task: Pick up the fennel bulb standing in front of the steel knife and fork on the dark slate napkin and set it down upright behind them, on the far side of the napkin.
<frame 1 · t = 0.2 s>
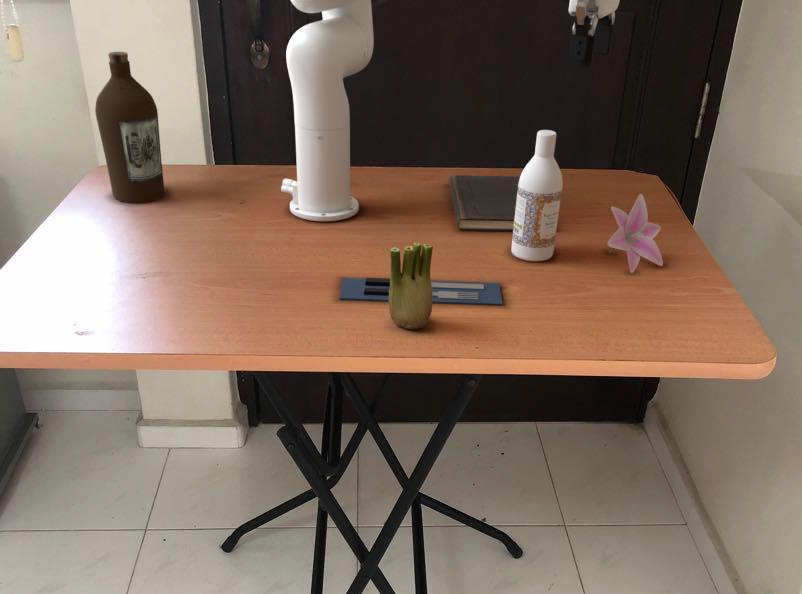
hand: (589, 59, 119), 31 cm above the table, tool pointing down, fingers open, 9 cm apart
lily: (628, 263, 136), on the table
bath foam: (531, 255, 138), on the table
hardcover book: (495, 209, 155), on the table
cutlery: (421, 292, 125), resting on napkin
olive oil: (139, 195, 156), on the table
napkin: (421, 292, 125), on the table
fennel bulb: (410, 325, 117), on the table
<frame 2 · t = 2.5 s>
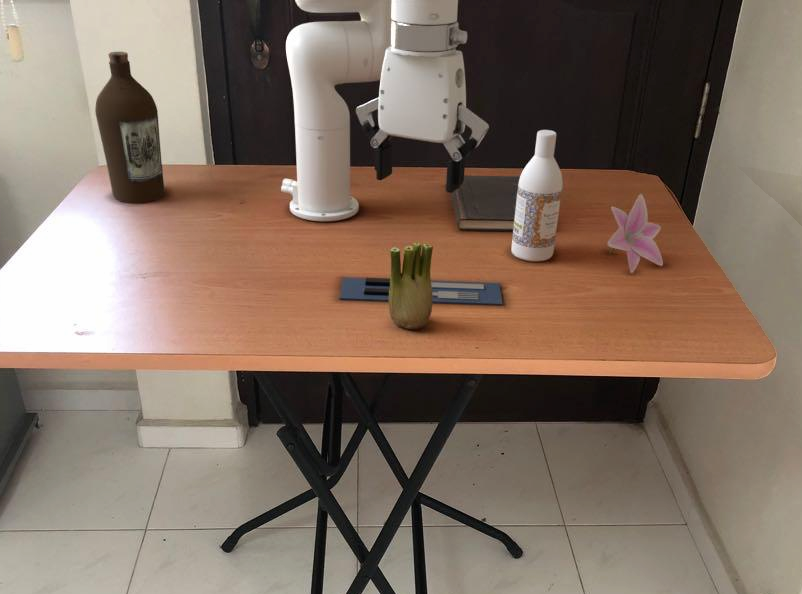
hand: (418, 183, 105), 20 cm above the table, tool pointing down, fingers open, 9 cm apart
nothing on the table moved.
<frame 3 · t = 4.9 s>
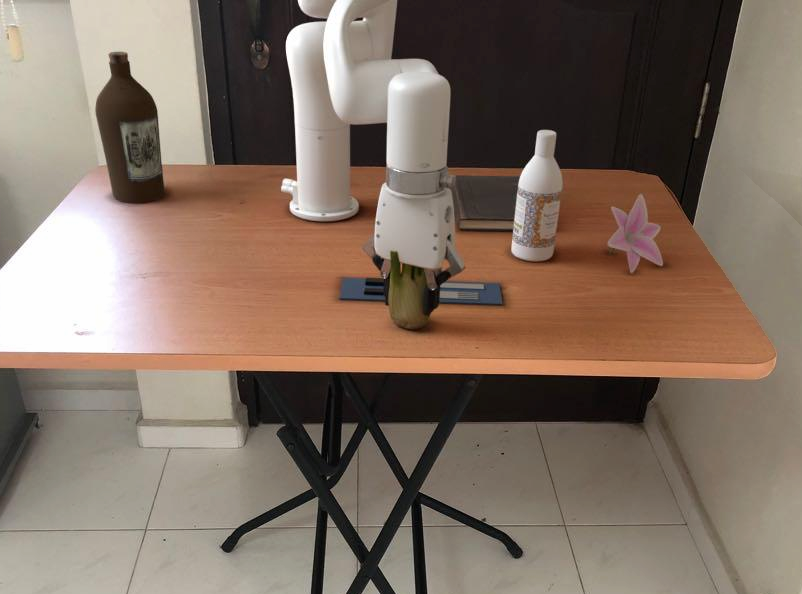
hand: (410, 305, 115), 3 cm above the table, tool pointing down, fingers closed on fennel bulb, 5 cm apart
fennel bulb: (409, 325, 117), on the table, touching gripper
everything else where it was.
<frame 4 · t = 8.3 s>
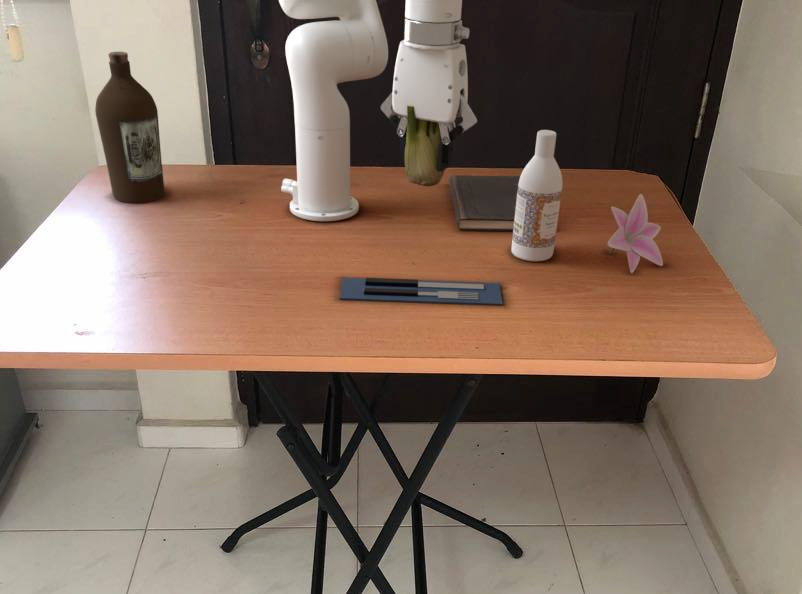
hand: (425, 164, 123), 17 cm above the table, tool pointing down, fingers closed on fennel bulb, 5 cm apart
fennel bulb: (424, 184, 124), point 14 cm above the table, touching gripper
everything else where it was.
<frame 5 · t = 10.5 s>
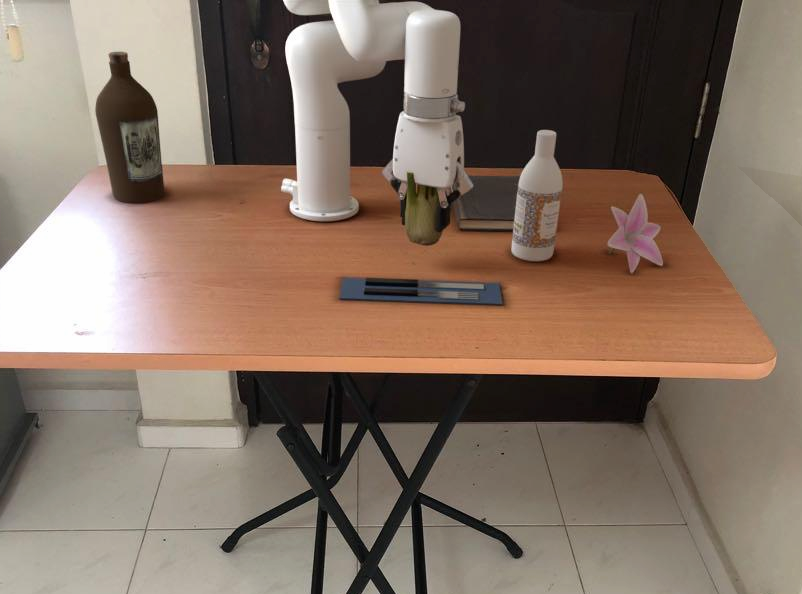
hand: (424, 224, 129), 7 cm above the table, tool pointing down, fingers closed on fennel bulb, 5 cm apart
fennel bulb: (423, 243, 131), point 4 cm above the table, touching gripper
everything else where it was.
when the fingers open (3 cm above the table, at t = 11.9 s): fennel bulb stays where it is, on the table.
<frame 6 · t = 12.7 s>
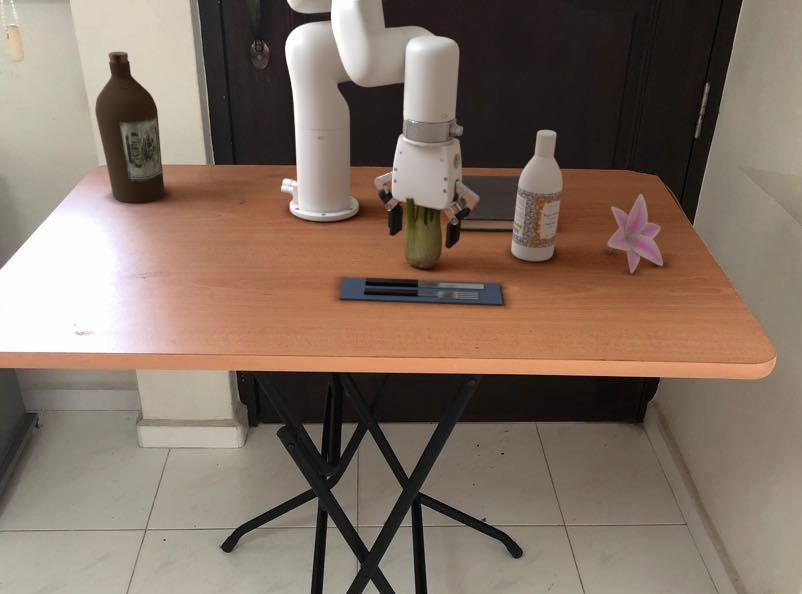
hand: (423, 239, 131), 4 cm above the table, tool pointing down, fingers open, 9 cm apart
fennel bulb: (422, 266, 133), on the table
everything else where it was.
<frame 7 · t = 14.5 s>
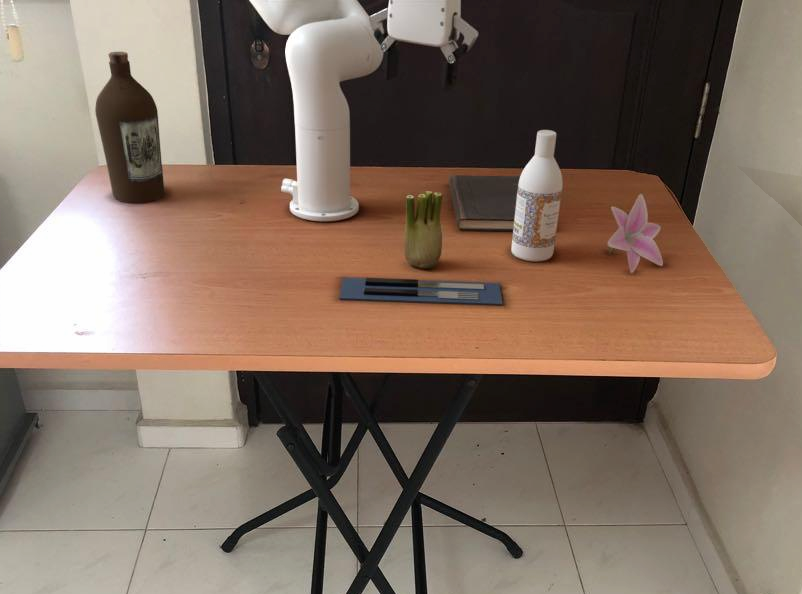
hand: (418, 83, 126), 26 cm above the table, tool pointing down, fingers open, 9 cm apart
nothing on the table moved.
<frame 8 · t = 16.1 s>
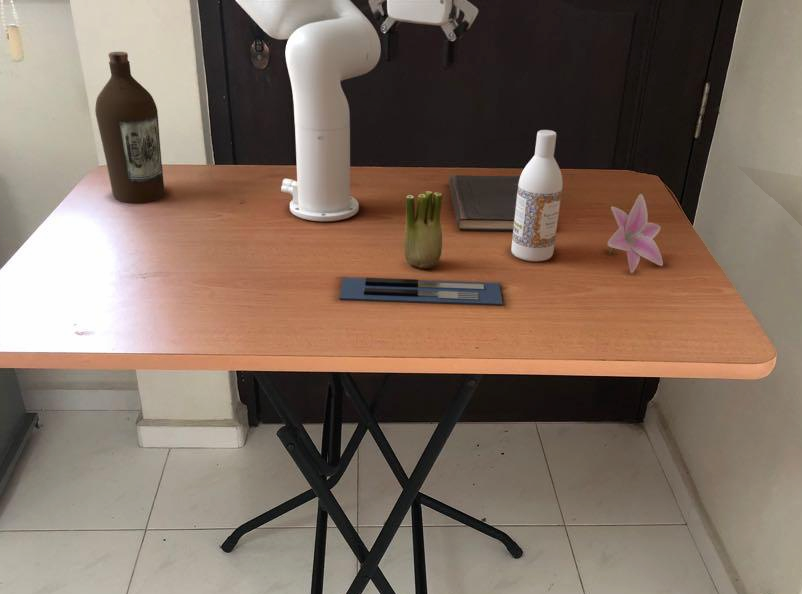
hand: (419, 63, 126), 28 cm above the table, tool pointing down, fingers open, 9 cm apart
nothing on the table moved.
at the end: fennel bulb inside the target area (0.0 cm from its centre), on the table; fennel bulb tilted 0°; the gripper is holding nothing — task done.
